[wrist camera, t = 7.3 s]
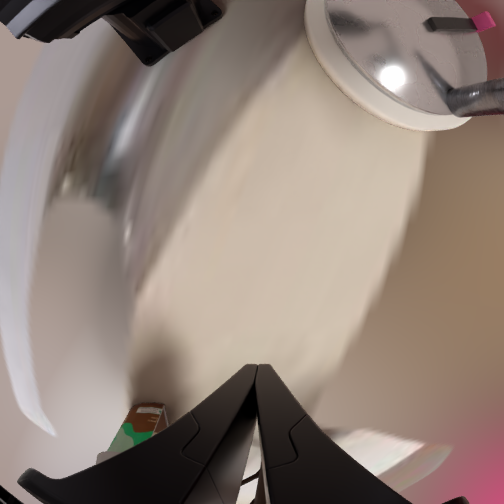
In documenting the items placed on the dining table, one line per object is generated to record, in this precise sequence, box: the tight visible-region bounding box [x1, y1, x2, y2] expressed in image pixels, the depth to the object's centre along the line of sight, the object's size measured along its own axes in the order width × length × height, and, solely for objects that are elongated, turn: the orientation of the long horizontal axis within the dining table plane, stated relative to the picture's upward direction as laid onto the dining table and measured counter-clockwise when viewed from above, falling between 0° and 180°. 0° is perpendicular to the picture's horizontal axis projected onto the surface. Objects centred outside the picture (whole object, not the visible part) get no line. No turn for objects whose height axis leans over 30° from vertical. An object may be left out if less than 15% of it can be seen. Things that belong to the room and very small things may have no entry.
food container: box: [96, 403, 169, 464], centre depth 22 cm, size 12×6×10 cm, turn 175°
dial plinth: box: [304, 0, 496, 131], centre depth 11 cm, size 15×15×5 cm
